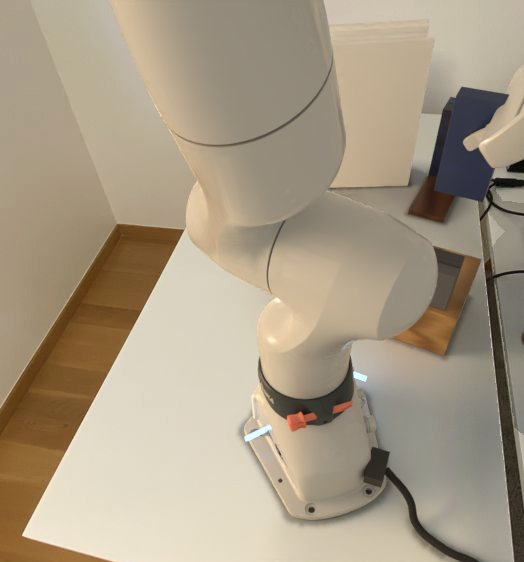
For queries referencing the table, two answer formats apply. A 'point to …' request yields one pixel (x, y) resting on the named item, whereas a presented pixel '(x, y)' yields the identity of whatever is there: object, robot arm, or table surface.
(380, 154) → the block
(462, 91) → the navy book
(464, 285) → the oak shelf
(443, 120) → the book rack
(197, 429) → the table surface
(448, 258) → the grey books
